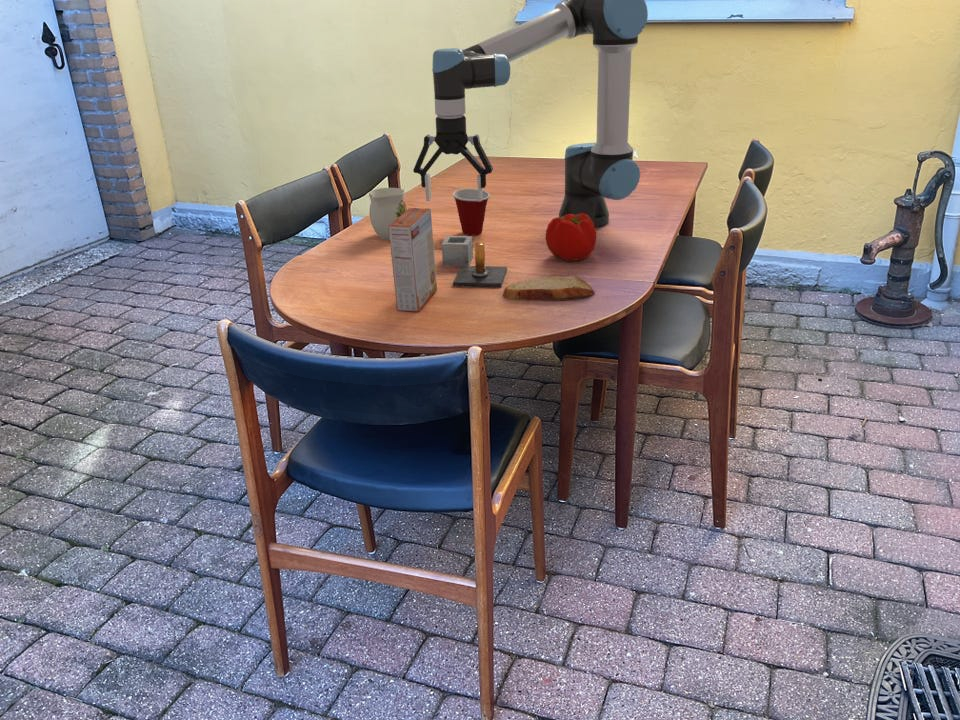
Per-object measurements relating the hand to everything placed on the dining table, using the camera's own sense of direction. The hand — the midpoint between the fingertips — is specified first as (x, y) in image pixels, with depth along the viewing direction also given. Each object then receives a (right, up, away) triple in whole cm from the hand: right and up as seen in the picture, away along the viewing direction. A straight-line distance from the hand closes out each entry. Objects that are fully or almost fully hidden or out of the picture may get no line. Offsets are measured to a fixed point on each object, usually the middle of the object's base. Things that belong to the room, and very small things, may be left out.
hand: (454, 200), depth 210 cm
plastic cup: (+5, -4, +30) cm, 30 cm away
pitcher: (-20, -5, +31) cm, 37 cm away
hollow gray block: (+1, -15, +8) cm, 17 cm away
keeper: (+7, -21, -4) cm, 22 cm away
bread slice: (+23, -26, -15) cm, 38 cm away
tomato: (+31, -14, +7) cm, 35 cm away
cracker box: (-8, -28, -16) cm, 33 cm away
